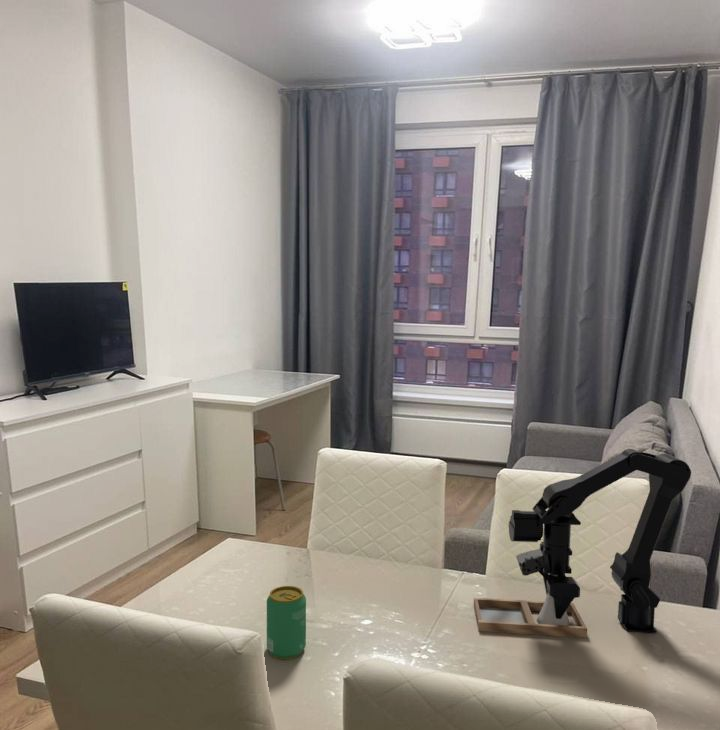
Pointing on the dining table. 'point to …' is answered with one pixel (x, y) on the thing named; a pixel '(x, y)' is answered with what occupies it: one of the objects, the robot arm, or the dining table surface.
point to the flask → (551, 614)
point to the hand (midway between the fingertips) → (554, 609)
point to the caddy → (522, 618)
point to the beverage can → (286, 622)
